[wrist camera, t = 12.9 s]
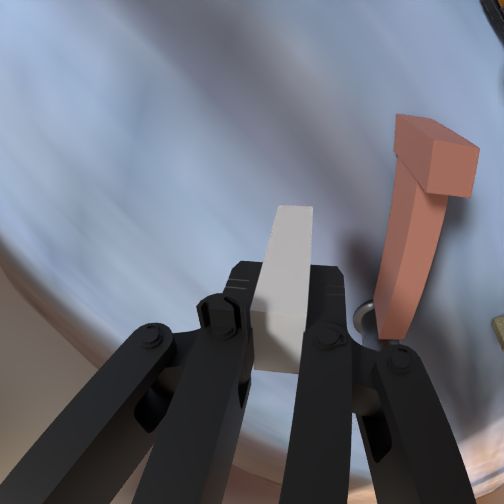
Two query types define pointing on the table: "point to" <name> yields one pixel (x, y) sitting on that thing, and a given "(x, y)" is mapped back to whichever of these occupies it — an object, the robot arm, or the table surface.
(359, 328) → the post
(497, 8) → the canister
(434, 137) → the pink l-shaped bracket
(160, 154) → the table surface
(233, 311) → the robot arm
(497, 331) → the grey hammer
